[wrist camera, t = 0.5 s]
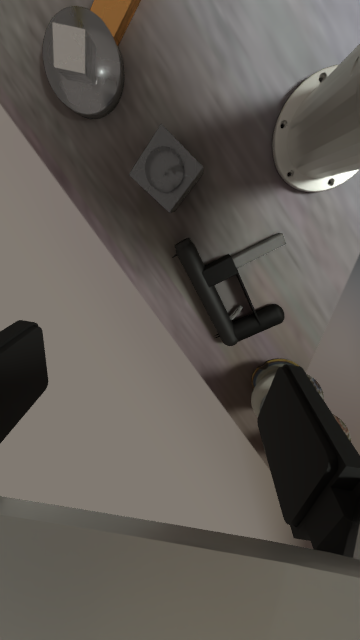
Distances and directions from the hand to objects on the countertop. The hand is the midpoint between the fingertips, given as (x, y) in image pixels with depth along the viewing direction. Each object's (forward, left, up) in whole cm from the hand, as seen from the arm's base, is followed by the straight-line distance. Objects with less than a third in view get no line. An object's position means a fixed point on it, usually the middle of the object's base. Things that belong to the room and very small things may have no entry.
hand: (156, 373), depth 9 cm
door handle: (-2, +10, -32) cm, 33 cm away
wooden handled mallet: (-15, -23, -31) cm, 41 cm away
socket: (-6, -8, -31) cm, 33 cm away
